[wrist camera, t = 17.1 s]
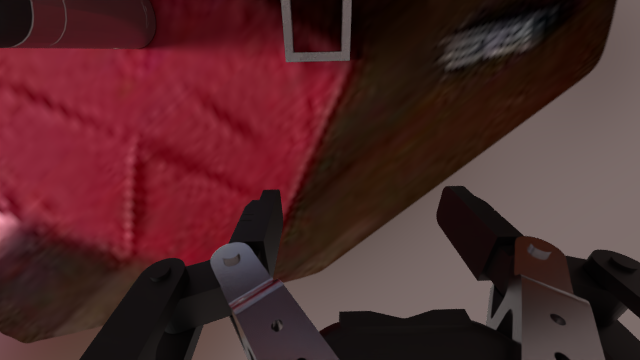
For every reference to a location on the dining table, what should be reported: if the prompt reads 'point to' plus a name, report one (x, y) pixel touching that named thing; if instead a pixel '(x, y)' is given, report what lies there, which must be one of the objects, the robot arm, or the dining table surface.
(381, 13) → the dining table surface
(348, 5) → the socket
